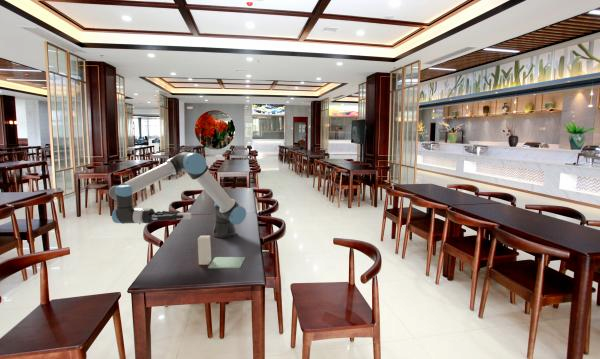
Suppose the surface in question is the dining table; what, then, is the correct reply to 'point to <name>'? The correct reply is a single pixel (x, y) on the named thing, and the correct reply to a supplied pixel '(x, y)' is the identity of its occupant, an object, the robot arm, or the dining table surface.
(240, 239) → the dining table surface
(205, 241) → the cream block
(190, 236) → the dining table surface
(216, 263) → the sage mat
